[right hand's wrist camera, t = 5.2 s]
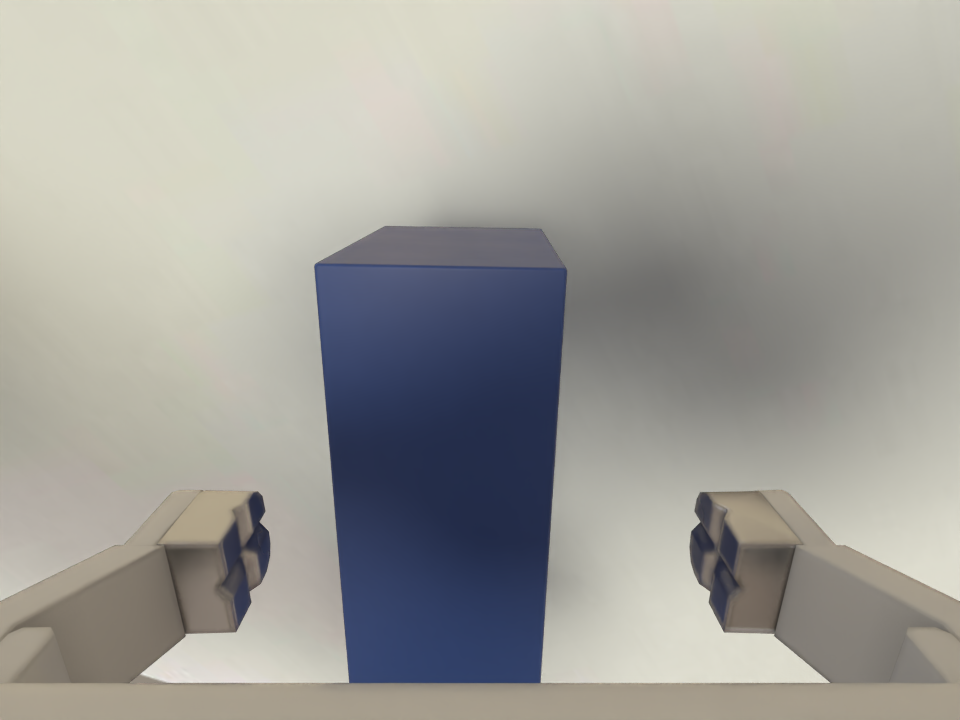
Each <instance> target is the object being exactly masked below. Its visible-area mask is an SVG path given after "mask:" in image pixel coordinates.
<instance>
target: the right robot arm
mask: <svg viewBox="0 0 960 720" xmlns="http://www.w3.org/2000/svg"><path fill="white" fill-rule="evenodd" d="M264 513H265V507H264V502H263V497H262V495H261V494H260V493H259V492H258V491H212V490H206V491H203V490H179V491H175V492H172V493H171V494H170V495H169V496H168V497H167V498H166V499H165V501H164V502H163V503H162V504H161V505H160V506H159V507H158V508H157V509H156V510H155V512H154V513H153V514H152V515H151V516H150V517H149V518H148V519H147V520H146V521H145V523H144V524H143V525H142V526H141V527H140V528H139V529H138V530H137V531H136V532H135V534H134V535H133V536H132V537H131V538H130V539H129V540H128V541H127V542H126V543H125V545H115V546H113V547H110V548H108V549H106V550H104V551H102V552H100V553H98V554H96V555H94V556H92V557H90V558H88V559H86V560H84V561H82V562H80V563H78V564H76V565H74V566H72V567H70V568H67V569H65V570H63V571H61V572H59V573H57V574H55V575H53V576H51V577H49V578H47V579H45V580H43V581H41V582H39V583H37V584H35V585H33V586H31V587H29V588H26V589H24V590H22V591H20V592H18V593H16V594H14V595H12V596H10V597H8V598H6V599H4V600H2V601H0V720H960V601H958V600H956V599H954V598H952V597H950V596H948V595H946V594H943V593H941V592H939V591H937V590H935V589H933V588H931V587H929V586H927V585H925V584H923V583H921V582H919V581H917V580H915V579H913V578H911V577H909V576H907V575H905V574H903V573H901V572H899V571H896V570H894V569H892V568H890V567H888V566H886V565H884V564H882V563H880V562H878V561H876V560H874V559H872V558H870V557H868V556H866V555H864V554H862V553H860V552H858V551H856V550H854V549H852V548H849V547H847V546H845V545H835V543H834V542H833V541H832V540H831V539H830V538H829V537H828V536H827V535H826V534H825V532H824V531H823V530H822V529H821V528H820V527H819V526H818V525H817V524H816V523H815V521H814V520H813V519H812V518H811V517H810V516H809V515H808V514H807V513H806V512H805V510H804V509H803V508H802V507H801V506H800V505H799V504H798V503H797V502H796V501H795V499H794V498H793V497H792V496H791V495H790V494H789V493H788V492H785V491H783V490H763V491H739V492H700V494H699V496H698V498H697V500H696V506H695V513H696V515H697V516H698V518H699V520H700V523H699V524H698V525H697V526H696V527H695V528H694V529H693V530H692V531H691V539H690V558H691V564H692V568H693V571H694V574H695V576H696V578H697V580H698V582H699V584H700V585H702V586H703V587H705V588H706V589H708V590H709V591H711V592H710V598H709V604H710V606H711V608H712V610H713V612H714V614H715V616H716V618H717V620H718V621H719V623H720V625H721V627H722V629H723V631H724V632H732V633H768V634H775V635H774V636H775V637H776V638H777V639H778V640H780V641H781V642H782V643H783V644H784V645H786V646H787V647H788V648H789V649H791V650H792V651H793V652H794V653H795V654H797V655H798V656H799V657H800V658H801V659H803V660H804V661H805V662H806V663H807V664H809V665H810V666H811V667H812V668H813V669H815V670H816V671H817V672H818V673H819V674H821V675H822V676H823V677H824V678H825V679H827V680H828V681H829V682H830V683H130V682H131V681H132V680H133V679H135V678H136V677H137V676H138V675H139V674H141V673H142V672H143V671H144V670H146V669H147V668H148V667H149V666H150V665H152V664H153V663H154V662H155V661H156V660H158V659H159V658H160V657H161V656H162V655H164V654H165V653H166V652H167V651H169V650H170V649H171V648H172V647H173V646H175V645H176V644H177V643H178V642H179V641H181V640H182V639H183V638H184V637H185V636H186V635H185V634H192V633H227V632H236V631H237V629H238V627H239V625H240V624H241V622H242V620H243V618H244V616H245V614H246V612H247V610H248V608H249V606H250V604H251V598H250V592H249V591H251V590H252V589H254V588H255V587H257V586H258V585H260V584H261V582H262V580H263V578H264V576H265V574H266V572H267V567H268V563H269V558H270V537H269V531H268V530H267V529H266V528H265V527H264V526H263V525H262V524H261V523H260V522H259V521H260V520H261V518H262V516H263V515H264Z"/></svg>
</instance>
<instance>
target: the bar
mask: <svg viewBox="0 0 960 720" xmlns="http://www.w3.org/2000/svg"><path fill="white" fill-rule="evenodd" d="M314 268H315V280H316V292H317V304H318V316H319V328H320V340H321V351H322V363H323V375H324V387H325V399H326V411H327V423H328V435H329V447H330V459H331V470H332V482H333V494H334V506H335V518H336V530H337V542H338V554H339V566H340V578H341V590H342V601H343V613H344V625H345V637H346V649H347V661H348V673H349V683H540V682H541V667H542V651H543V636H544V620H545V605H546V589H547V574H548V559H549V543H550V528H551V512H552V497H553V481H554V466H555V450H556V435H557V419H558V404H559V388H560V373H561V357H562V342H563V326H564V311H565V296H566V280H567V270H566V268H565V266H564V264H563V263H562V261H561V260H560V258H559V257H558V255H557V253H556V252H555V250H554V249H553V247H552V246H551V244H550V242H549V241H548V239H547V238H546V236H545V234H544V233H543V231H542V230H541V229H525V228H467V227H408V226H385V227H383V228H381V229H379V230H377V231H375V232H373V233H371V234H370V235H368V236H366V237H364V238H362V239H360V240H359V241H357V242H355V243H353V244H351V245H349V246H347V247H346V248H344V249H342V250H340V251H338V252H336V253H334V254H333V255H331V256H329V257H327V258H325V259H323V260H322V261H320V262H318V263H316V264H315V266H314Z"/></svg>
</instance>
